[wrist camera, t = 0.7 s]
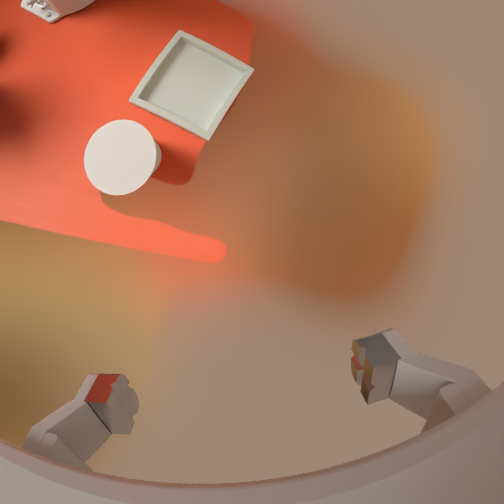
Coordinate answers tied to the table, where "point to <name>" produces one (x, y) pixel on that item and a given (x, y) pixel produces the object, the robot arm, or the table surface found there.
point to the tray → (191, 85)
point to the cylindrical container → (121, 157)
